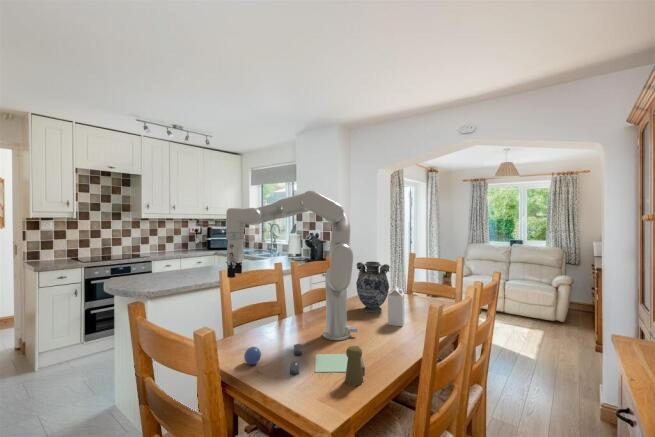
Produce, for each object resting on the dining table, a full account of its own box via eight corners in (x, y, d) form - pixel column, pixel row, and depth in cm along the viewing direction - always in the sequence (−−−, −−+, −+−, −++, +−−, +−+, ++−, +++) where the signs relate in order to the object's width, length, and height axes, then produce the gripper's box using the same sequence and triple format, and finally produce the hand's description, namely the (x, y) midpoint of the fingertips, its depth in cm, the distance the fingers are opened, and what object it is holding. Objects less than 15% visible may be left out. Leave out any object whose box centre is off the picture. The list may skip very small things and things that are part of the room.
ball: (262, 359, 117) (262, 344, 117) (259, 367, 111) (259, 350, 111) (246, 360, 116) (246, 344, 116) (242, 367, 110) (242, 350, 110)
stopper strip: (358, 352, 123) (358, 345, 123) (364, 374, 105) (364, 367, 105) (353, 352, 123) (353, 345, 123) (358, 374, 105) (358, 367, 105)
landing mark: (351, 354, 121) (351, 353, 121) (355, 371, 107) (355, 371, 107) (315, 354, 121) (315, 354, 121) (314, 372, 107) (314, 371, 107)
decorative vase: (348, 310, 179) (348, 262, 179) (363, 304, 194) (364, 259, 194) (382, 317, 167) (383, 265, 167) (395, 309, 182) (396, 262, 182)
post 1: (302, 352, 123) (302, 343, 123) (301, 356, 120) (301, 347, 120) (294, 352, 123) (294, 344, 123) (293, 356, 120) (293, 347, 120)
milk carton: (387, 325, 155) (387, 287, 155) (390, 320, 161) (390, 284, 161) (402, 327, 152) (402, 288, 152) (404, 322, 158) (404, 285, 159)
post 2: (299, 371, 108) (299, 361, 108) (298, 375, 105) (298, 365, 105) (290, 371, 108) (290, 361, 108) (289, 375, 105) (289, 365, 105)
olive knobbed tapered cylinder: (343, 376, 104) (343, 344, 104) (361, 376, 104) (361, 343, 104) (346, 386, 98) (346, 351, 98) (365, 385, 98) (365, 350, 98)
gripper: (237, 237, 127) (237, 279, 127) (248, 235, 144) (248, 272, 144) (219, 237, 127) (219, 279, 127) (232, 235, 144) (232, 272, 144)
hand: (234, 275), depth 136 cm, fingers open, 9 cm apart
